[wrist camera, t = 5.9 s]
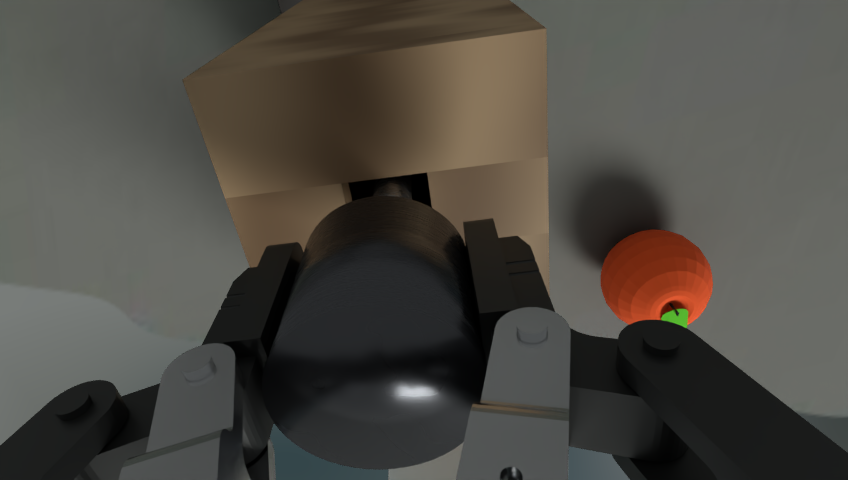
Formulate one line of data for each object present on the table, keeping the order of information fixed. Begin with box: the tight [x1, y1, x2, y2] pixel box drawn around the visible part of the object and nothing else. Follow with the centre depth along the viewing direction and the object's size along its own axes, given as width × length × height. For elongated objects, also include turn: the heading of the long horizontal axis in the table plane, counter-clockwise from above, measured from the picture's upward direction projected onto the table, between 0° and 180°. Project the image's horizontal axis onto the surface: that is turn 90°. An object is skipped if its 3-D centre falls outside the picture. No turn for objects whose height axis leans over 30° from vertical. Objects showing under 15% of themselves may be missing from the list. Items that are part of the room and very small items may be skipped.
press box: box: [183, 0, 549, 294], centre depth 23 cm, size 12×12×19 cm
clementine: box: [601, 229, 713, 328], centre depth 36 cm, size 8×7×7 cm
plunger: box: [262, 174, 487, 469], centre depth 20 cm, size 7×7×24 cm
